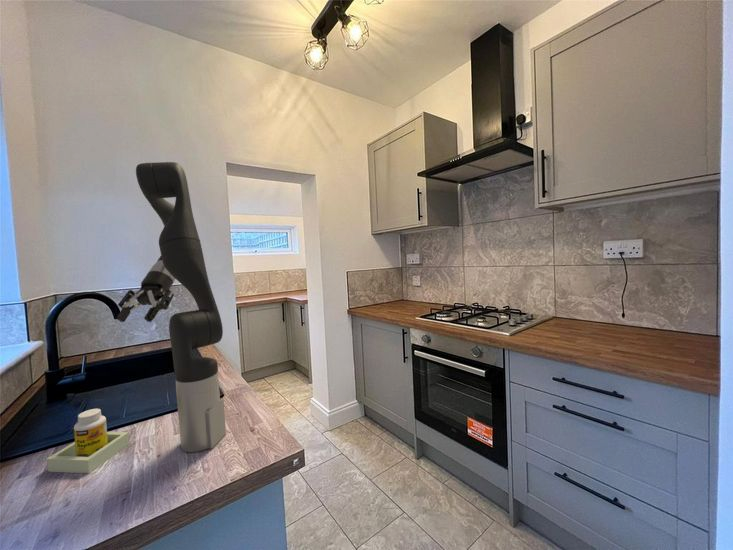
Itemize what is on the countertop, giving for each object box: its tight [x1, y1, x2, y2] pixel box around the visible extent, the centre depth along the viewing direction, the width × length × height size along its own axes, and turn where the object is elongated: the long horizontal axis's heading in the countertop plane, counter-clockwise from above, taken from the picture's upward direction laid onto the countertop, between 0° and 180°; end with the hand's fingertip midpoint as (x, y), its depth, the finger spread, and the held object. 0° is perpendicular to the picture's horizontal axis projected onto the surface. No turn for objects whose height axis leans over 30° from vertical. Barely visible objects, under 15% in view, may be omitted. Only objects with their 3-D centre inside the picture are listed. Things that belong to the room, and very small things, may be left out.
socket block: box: [46, 431, 130, 474], centre depth 70 cm, size 10×10×3 cm
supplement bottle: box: [73, 408, 108, 457], centre depth 70 cm, size 6×6×10 cm
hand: (133, 320), depth 86 cm, fingers open, 8 cm apart
